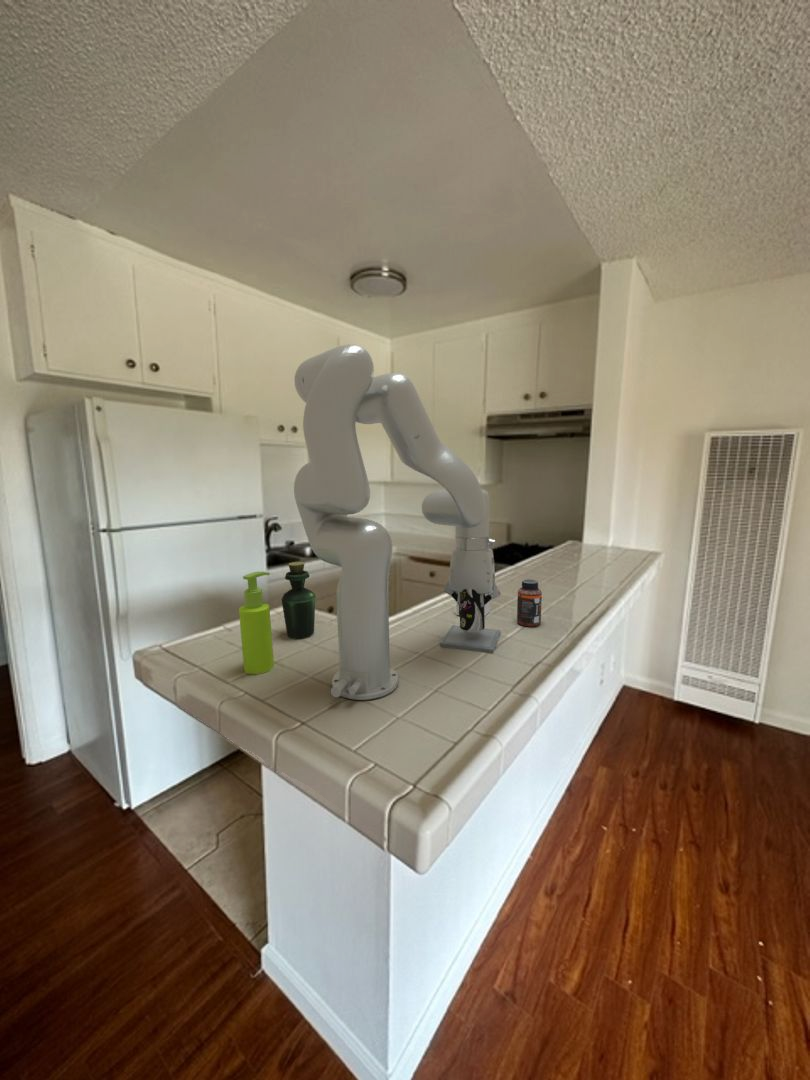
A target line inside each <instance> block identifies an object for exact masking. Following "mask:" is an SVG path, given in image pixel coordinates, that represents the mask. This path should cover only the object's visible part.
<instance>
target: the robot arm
mask: <svg viewBox="0 0 810 1080" xmlns="http://www.w3.org/2000/svg"><path fill="white" fill-rule="evenodd" d="M374 367H375V366H374V362H373V359H372V356H371V355H370V353H369V351H367V349H365V348H364V347H363V346H360V345H358V344H345V345H339V346H336V347H334V348H332V349H328V350H326V351H324V352H322V353H319V354H317V355H314V356H311V357H309V358H308V359H306V360H304V361H302V362H301V364H299V366H298V367H297V369H296V371H295V375H294V386H295V391H296V392H297V393H296V394H298V396H299V397H300V398H301V400H302V401H303V402H304V403H305V406H304V410H303V417H302V418H303V421H302V429H303V437H304V441H305V445H306V449H307V452H308V453H307V454H308V458H309V461H310V462H308V463H306V464H304V465H303V466H302V467H300V469H299V470H298V472H297V473H296V475H295V478H294V482H293V494H294V499H295V504H296V507H297V509H298V513H299V516H300V518H301V523H302V525H303V528H304V531H305V535H306V537H307V541H308V543H309V545H310V548H311V549H312V552H313V553H314V554H315V556H316V557H317V558H318V559H319V560H320V561H323V562H325V563H327V564H330V565H333V566H337V567H340V568H341V573H340V576H339V579H338V581H337V582H338V583H337V585H336V594H335V596H336V597H335V599H336V600H335V603H336V617H337V618H336V619H337V637H338V638H337V641H338V642H337V643H338V659H339V660H338V662H339V663H338V664H339V670H338V671H337V672H336V673H335V674H334V675H333V677H332V679H331V689H330V694H331V696H333V697H334V698H339V697H342V698H345V699H350V700H355V701H367V700H368V701H369V700H373V699H378V698H383V697H385V696H387V695H389V694H390V693H392V692H393V691H394V690H395V689H397V687H398V685H399V674H398V673H397V671H396V670H395V669H393V668H391V659H390V656H391V655H390V654H391V651H390V649H391V648H390V619H389V617H390V613H389V612H390V611H389V576H390V566H391V562H392V555H393V540H392V538H391V534H390V532H389V531H388V530H387V529H386V527H384V526H383V525H382V524H380V523H379V522H377V521H375V520H371V519H369V518H360V517H353V516H349V515H354V514H358V513H360V512H362V511H363V510H365V509H366V507H368V505H369V501H370V499H371V489H370V483H369V479H368V475H367V471H366V467H365V463H364V460H363V456H362V453H361V448H360V444H359V439H358V436H357V434H358V433H357V428H356V423H358V424H362V425H373V424H381V425H382V427H383V429H384V431H385V433H386V434H387V437H388V439H389V440H390V442H391V443H392V446H393V448H394V450H395V451H396V453H397V455H398V457H399V459H400V461H401V462H402V463H403V464H404V465H405V466H407V467H408V468H409V469H412V470H413V471H415V472H417V473H420V474H422V475H424V476H426V477H428V478H430V479H432V480H434V481H436V483H438V484H439V485H441V486H442V487H443V488H444V489H437V490H433V491H431V492H429V493H427V495H425V497H424V499H423V500H422V503H421V512H422V515H423V517H424V518H425V519H426V520H427V521H429V522H430V523H433V524H434V525H435V524H436V525H441V526H449V527H450V526H451V527H455V528H454V529H455V530H454V531H455V533H454V534H455V535H454V536H455V537H454V539H455V543H454V544H455V547H454V548H452V552H451V557H450V563H449V572H448V574H449V575H448V582H447V583H446V585H445V587H444V589H443V592H444V593H445V594H447V595H448V596H450V597H452V599H453V600H454V601H455V602H456V605H457V604H458V605H459V618H460V592H462V591H463V590H464V589H467V588H470V589H474V590H475V591H476V592H477V593H478V594H480V603H481V607H482V614H483V609H484V605H485V604H487V603H488V602H489V601H490V602H491V600H493V599H496V598H498V597H500V596H501V591H500V589H499V587H498V586H497V583H496V570H495V569H496V568H495V559H494V552H493V549H492V548H490V547H492V546H496V539H493V538H491V537H490V535H489V534H490V494H489V492H488V491H487V490H485V489H482V487H481V485H480V483H479V480H478V478H477V476H476V474H475V473H474V471H473V470H472V469H471V467H470V466H469V465H468V464H467V463H466V462H465V461H464V460H462V458H460V457H459V455H457V454H456V453H455V452H454V451H452V449H450V448H449V447H447V446H446V445H445V444H443V442H442V441H441V440H440V438H439V437H438V434H437V432H436V430H435V427H434V426H433V422H431V420H430V418H429V415H428V413H427V411H426V409H425V405H424V404H423V402H422V399H421V398H420V396H419V394H418V391H417V389H416V386H415V384H414V383H413V381H412V380H411V379H410V378H409V377H408V376H407V375H406V374H403V373H399V372H391V373H386V374H380V375H377V376H374V375H375V373H374V371H375V368H374ZM489 593H490V594H489ZM485 594H488V595H486V596H485Z"/></svg>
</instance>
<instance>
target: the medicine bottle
mask: <svg viewBox="0 0 810 1080" xmlns="http://www.w3.org/2000/svg"><path fill="white" fill-rule="evenodd" d="M489 594H490V593H489ZM486 595H488V594H485V596H486ZM490 612H491V600H490V601H489V602H488V603H487V604H485V605H484V617H486V616H487V615H488V614H489V613H490ZM457 615H459V605H458V604H457V603H456V616H457Z"/></svg>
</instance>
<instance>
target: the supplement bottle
mask: <svg viewBox="0 0 810 1080" xmlns="http://www.w3.org/2000/svg"><path fill="white" fill-rule="evenodd" d="M542 595H543V593H542V591H541V589H540V588H539V581H538V580H536V579H526V578H525V579H522V580H521V587H520V588H519V589H518V590H517V603H516V604H517V607H516V609H517V611H516V622H517V623H518V624H519V625H520V626H524V627H531V628H532V627H538V626H539V625H541V621H542V598H543V597H542Z"/></svg>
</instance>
